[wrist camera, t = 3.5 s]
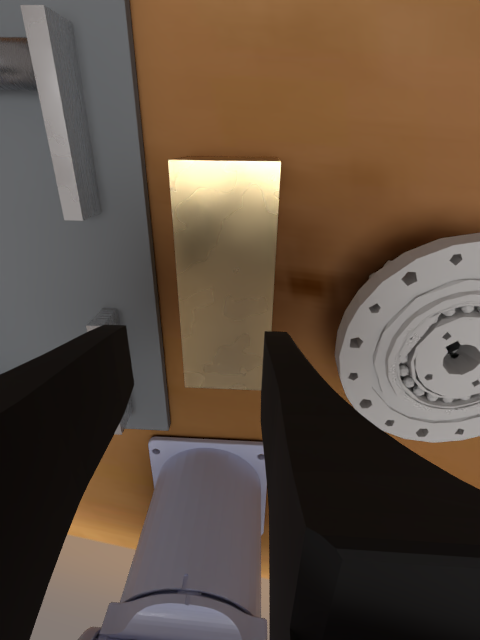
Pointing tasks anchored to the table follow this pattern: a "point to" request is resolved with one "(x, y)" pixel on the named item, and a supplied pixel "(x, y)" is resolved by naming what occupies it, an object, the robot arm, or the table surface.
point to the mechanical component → (417, 343)
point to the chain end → (55, 102)
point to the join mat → (88, 235)
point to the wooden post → (224, 265)
